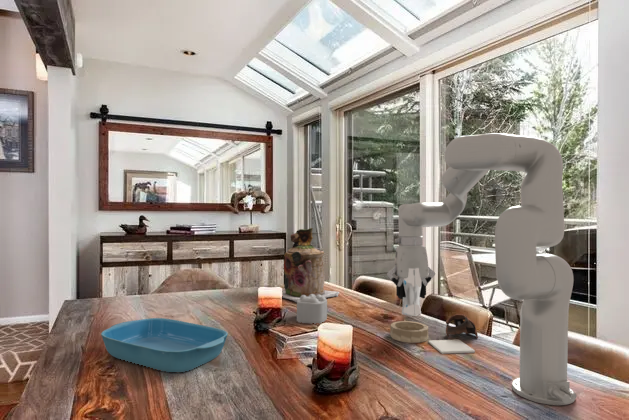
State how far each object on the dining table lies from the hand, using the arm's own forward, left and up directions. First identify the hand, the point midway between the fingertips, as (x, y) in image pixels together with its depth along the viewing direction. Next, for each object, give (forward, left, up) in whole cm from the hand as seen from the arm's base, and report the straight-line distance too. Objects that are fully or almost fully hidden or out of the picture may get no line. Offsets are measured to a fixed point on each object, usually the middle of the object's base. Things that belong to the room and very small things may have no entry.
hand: (411, 297), depth 136 cm
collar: (+1, 0, -13) cm, 13 cm away
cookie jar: (+66, +28, -13) cm, 73 cm away
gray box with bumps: (+26, +29, -13) cm, 41 cm away
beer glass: (0, 0, -5) cm, 5 cm away
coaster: (-10, -9, -13) cm, 19 cm away
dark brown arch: (0, -17, -13) cm, 22 cm away
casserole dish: (-9, +74, -13) cm, 76 cm away
